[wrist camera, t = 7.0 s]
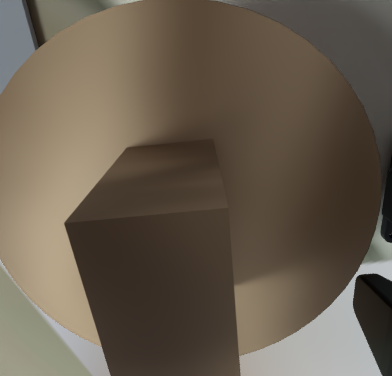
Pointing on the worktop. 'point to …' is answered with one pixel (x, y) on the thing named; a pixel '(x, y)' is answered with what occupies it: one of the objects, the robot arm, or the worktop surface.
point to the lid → (183, 184)
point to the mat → (14, 38)
